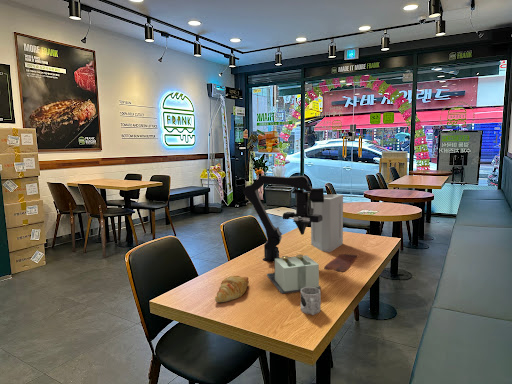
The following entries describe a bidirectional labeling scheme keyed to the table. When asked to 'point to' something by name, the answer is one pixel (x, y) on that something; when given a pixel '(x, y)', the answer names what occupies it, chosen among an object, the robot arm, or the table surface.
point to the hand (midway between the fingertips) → (302, 234)
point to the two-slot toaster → (296, 273)
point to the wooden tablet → (341, 263)
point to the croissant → (231, 288)
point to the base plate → (272, 278)
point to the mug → (310, 300)
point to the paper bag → (328, 223)
